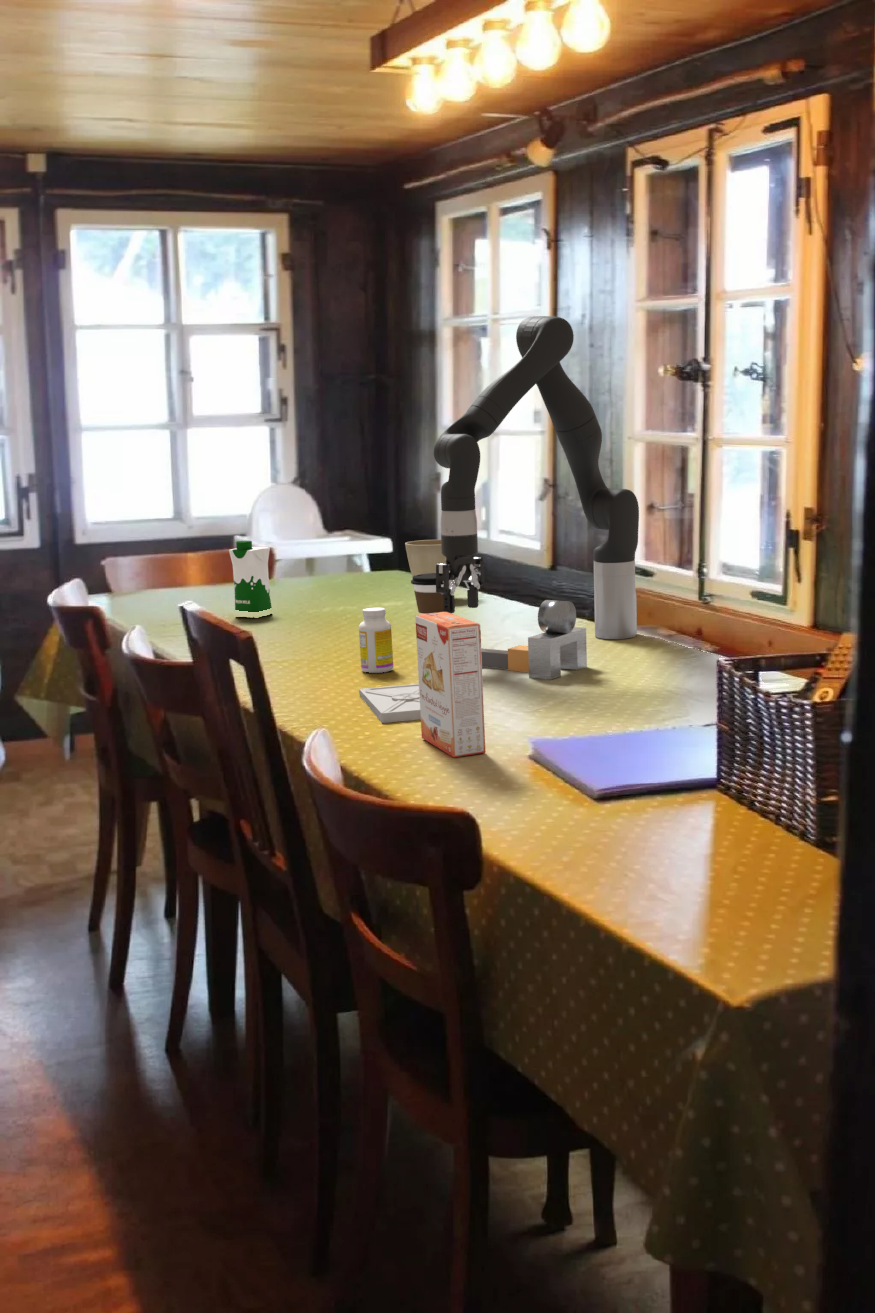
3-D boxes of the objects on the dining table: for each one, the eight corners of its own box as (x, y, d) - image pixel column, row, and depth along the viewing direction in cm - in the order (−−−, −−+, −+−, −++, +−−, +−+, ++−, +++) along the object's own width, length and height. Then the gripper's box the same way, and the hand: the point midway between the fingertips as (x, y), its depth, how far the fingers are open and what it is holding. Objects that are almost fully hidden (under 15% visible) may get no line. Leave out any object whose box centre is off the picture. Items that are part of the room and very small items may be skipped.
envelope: (430, 692, 266) (359, 699, 263) (429, 681, 266) (358, 687, 263) (459, 717, 243) (381, 724, 240) (458, 705, 243) (381, 711, 240)
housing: (565, 664, 284) (563, 595, 281) (586, 666, 281) (585, 596, 278) (529, 677, 273) (527, 605, 270) (550, 679, 270) (549, 606, 267)
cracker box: (419, 739, 228) (413, 613, 224) (453, 735, 230) (448, 610, 226) (451, 759, 215) (445, 625, 211) (486, 754, 217) (482, 622, 213)
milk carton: (230, 618, 364) (224, 541, 360) (252, 612, 371) (247, 538, 368) (256, 619, 359) (251, 542, 355) (278, 614, 367) (273, 538, 363)
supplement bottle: (398, 667, 288) (395, 606, 286) (386, 674, 282) (383, 611, 280) (368, 667, 290) (365, 606, 288) (356, 673, 284) (352, 611, 282)
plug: (451, 664, 289) (451, 643, 289) (463, 661, 293) (463, 640, 292) (529, 672, 278) (528, 650, 278) (540, 668, 282) (540, 647, 281)
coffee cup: (405, 627, 338) (403, 578, 336) (423, 620, 348) (420, 572, 346) (447, 628, 334) (445, 578, 332) (463, 621, 344) (461, 572, 341)
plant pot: (462, 602, 373) (459, 543, 370) (406, 605, 374) (404, 545, 371) (461, 594, 388) (459, 538, 385) (408, 596, 388) (406, 540, 385)
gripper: (454, 536, 277) (456, 616, 280) (493, 529, 289) (495, 606, 292) (423, 535, 282) (426, 614, 285) (463, 528, 293) (466, 604, 296)
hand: (461, 610), depth 288 cm, fingers open, 8 cm apart
